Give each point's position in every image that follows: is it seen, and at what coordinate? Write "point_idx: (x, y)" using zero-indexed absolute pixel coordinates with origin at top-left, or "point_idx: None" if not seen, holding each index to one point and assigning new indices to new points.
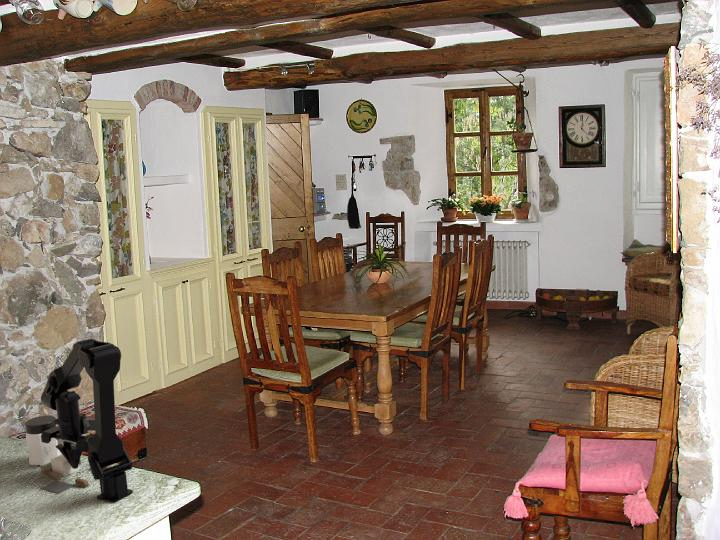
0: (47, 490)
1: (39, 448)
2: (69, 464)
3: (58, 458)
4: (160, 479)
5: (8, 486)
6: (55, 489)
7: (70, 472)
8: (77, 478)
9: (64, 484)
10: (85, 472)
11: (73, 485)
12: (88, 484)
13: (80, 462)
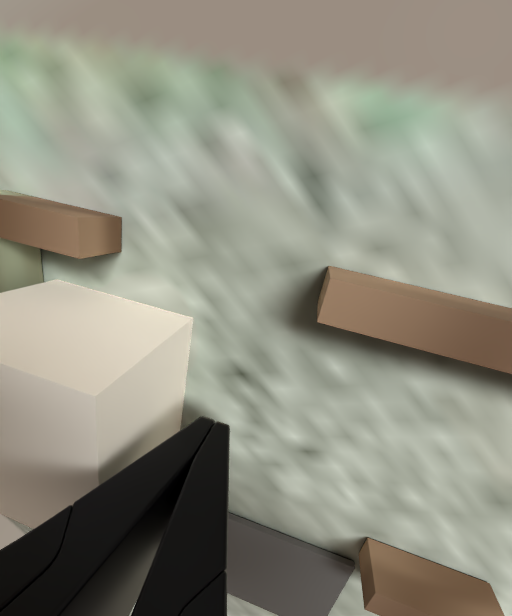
0: (229, 589)
1: None
2: (138, 456)
3: None
4: None
5: (19, 524)
6: (270, 596)
7: (181, 399)
8: (376, 598)
9: (280, 554)
10: (297, 377)
11: (353, 567)
12: (496, 602)
13: (111, 219)
